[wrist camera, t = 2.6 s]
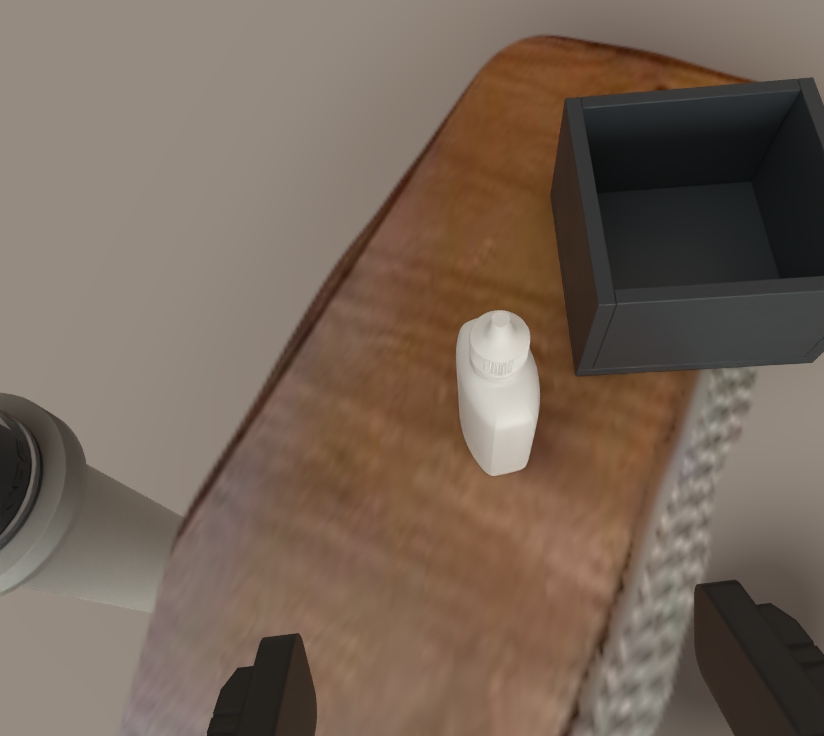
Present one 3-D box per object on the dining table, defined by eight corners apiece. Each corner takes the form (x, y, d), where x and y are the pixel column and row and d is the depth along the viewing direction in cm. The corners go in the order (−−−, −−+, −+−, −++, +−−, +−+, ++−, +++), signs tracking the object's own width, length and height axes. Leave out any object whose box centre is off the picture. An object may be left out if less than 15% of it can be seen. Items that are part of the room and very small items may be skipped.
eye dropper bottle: (544, 389, 37) (572, 268, 26) (522, 486, 35) (543, 398, 24) (466, 372, 38) (462, 247, 27) (441, 465, 35) (425, 371, 25)
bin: (575, 376, 37) (598, 305, 30) (550, 194, 42) (565, 97, 35) (812, 363, 36) (893, 286, 29) (756, 179, 41) (813, 76, 34)
